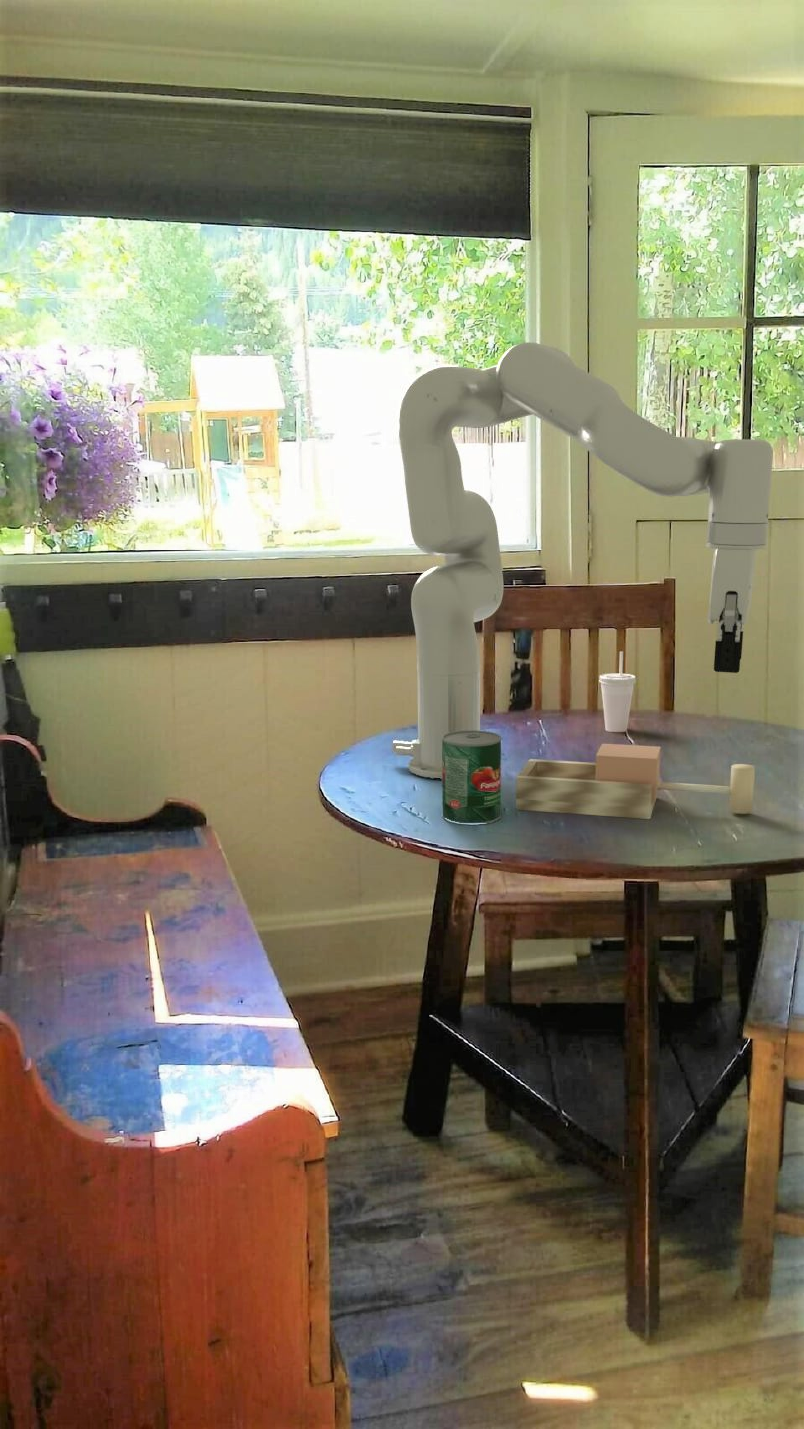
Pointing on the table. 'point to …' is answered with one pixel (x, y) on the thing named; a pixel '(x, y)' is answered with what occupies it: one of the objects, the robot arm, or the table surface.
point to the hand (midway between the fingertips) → (727, 665)
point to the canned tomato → (471, 776)
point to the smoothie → (617, 698)
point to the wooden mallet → (645, 768)
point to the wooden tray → (579, 791)
